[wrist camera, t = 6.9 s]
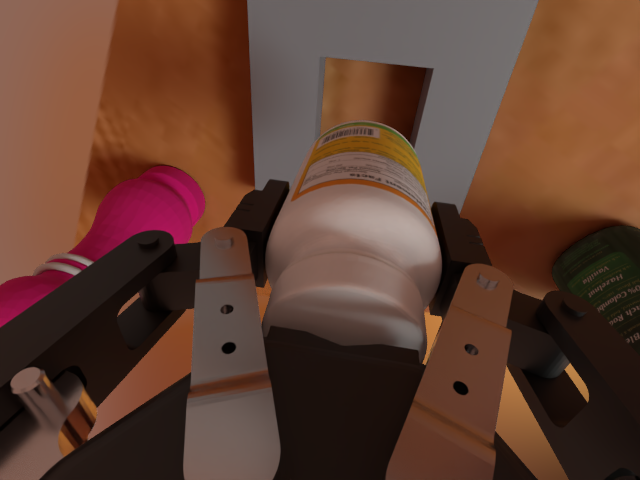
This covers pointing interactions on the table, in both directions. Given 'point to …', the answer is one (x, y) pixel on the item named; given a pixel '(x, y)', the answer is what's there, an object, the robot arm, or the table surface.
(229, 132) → the table surface
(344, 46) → the socket block
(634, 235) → the coffee jar
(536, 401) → the robot arm
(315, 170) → the supplement bottle
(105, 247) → the pepper mill
